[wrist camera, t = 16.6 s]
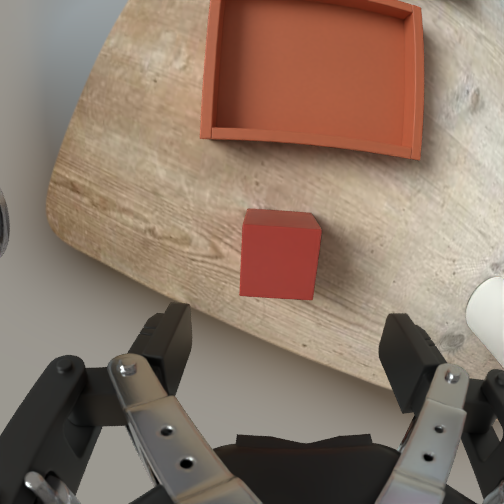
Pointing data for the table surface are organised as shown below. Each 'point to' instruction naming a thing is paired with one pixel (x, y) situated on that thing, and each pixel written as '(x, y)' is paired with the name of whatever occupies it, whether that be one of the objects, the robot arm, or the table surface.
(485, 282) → the can
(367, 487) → the robot arm
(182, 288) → the table surface
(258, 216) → the red block
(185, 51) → the table surface
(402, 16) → the orange tray
